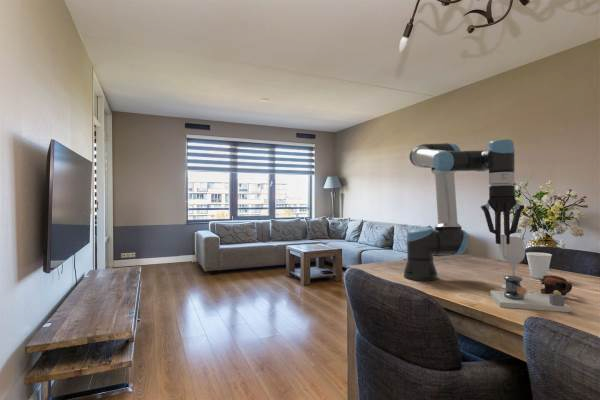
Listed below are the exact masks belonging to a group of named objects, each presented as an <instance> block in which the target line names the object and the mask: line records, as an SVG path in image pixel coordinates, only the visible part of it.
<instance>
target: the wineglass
mask: <svg viewBox="0 0 600 400" xmlns="http://www.w3.org/2000/svg"><path fill="white" fill-rule="evenodd" d="M506 252H507V254H501V256H502V258H503V259H504V260H505V262H507V263H508V264H510V267H511V276H516V274H515V273H516V271H515V270H516V266H517V264H519V263H521V262H523V260H524V259H525V255H526V248H525V242H524V239H523V237H522V236H521V237H520V236H510V243H509V244H506ZM521 286H522V287H523V288H525V289H526V290H527V288H526V287H525V286H523V285H521ZM501 288H502V289H505V290H506V283H504V284H502V285H501Z"/></svg>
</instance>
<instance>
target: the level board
mask: <svg viewBox="0 0 600 400" xmlns="http://www.w3.org/2000/svg"><path fill="white" fill-rule="evenodd" d="M504 292H506V290H505V291H504V290H490V292H489V294H490V296H491V297H492V298H493V300H494V301H495V302H496V303H497V305H498V306H499V307H500V308H501V307H502V308H511V309H512V308H513V309H524V310H525V309H526V310H534V311H535V310H537V311H539V310H540V311H549V312H550V311H551V312H561V313H562V312H563V313H571V306H569V305H568V304H566V303H565V295H564V296H563V295H561V293H560V292H559V291H558V290H555V291H553V294H541V293H538V292H537V293H536V292H526V295H524V299H511V298H507V297H505V296H504Z"/></svg>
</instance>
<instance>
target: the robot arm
mask: <svg viewBox="0 0 600 400" xmlns="http://www.w3.org/2000/svg"><path fill="white" fill-rule="evenodd" d="M409 160H410V163H411V165H413V166H415V167H416V168H424V169H425V168H430V169H431V173H432V174H433V175H434V177H435V178H434V179H435V193H436V196H435V197H436V198H435V199H436V211H437V224H436V225H435V227H434V229H433V228H432V227H417V228H412V229H409V230H408V231H407V234H406V235H407V236H406V243H407V245H406V247H407V248H406V250H407V261H406V264H405V267H404V270H403V278H405V279H408V280H413V281H422V282H425V281H426V282H428V281H435V280H438V274H439V273H438V272H437V271H438V270H437V269H436V265H435V262H434V256H456V255H457V256H458V255H462V254H463V253H465V251H466V250H467V247H468V242H469V239H468V234H467V232H466V231H465V230H463V228H462V225H460V224H459V223H458V209H457V196H456V181H455V180H456V179H455V173H456V172H486V171H488V184H489V187H488V189H489V190H488V192H489V194H488V197H489V198H488V200H487V202H486V203H485V204H484V205H481V206H480V209H481V210H482V211H483V213H484V216H485V217H484V218H485V221H486V224H487V227H488V231H489V233H492V234H495V244H496V245H498V253H499V254H500V255H502V254H507V252H506V244H509V243H510V237H511V235H513V234H515V233H517V230H518V227H519V226H518V225H519V222H520V218H521V214H522V211H524V209H525V205H523V204H520V203H519V202H518V201H517V199H516V194H515V193H516V190H515V189H516V186H515V185H514V184H515V182H516V181H515V145H514V141H513V140H512V139H506V138H504V139H495V140H491V141H489V143H488V147H487V149H485V150H461V149H460V147H459V146H458V145H457V144H456V143H449V142H445V143H443V142H442V143H423V144H419V145H416V146H415V147H413V148H412V149H411V150H410V153H409ZM490 208H491V209H492V210H493V211H494V224H493V220H492V217H491V214H490V213H491V212H490ZM512 209H514V210H515V211H514V213H513V216H512V221H511V220H510V219H511V218H510V215H511V211H512ZM502 214H503V233H504V234H502V227H501V226H502V224H501V223H502V221H501V220H502V217H501V216H502ZM510 221H511V223H510Z"/></svg>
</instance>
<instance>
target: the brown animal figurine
mask: <svg viewBox="0 0 600 400" xmlns="http://www.w3.org/2000/svg"><path fill="white" fill-rule="evenodd" d="M543 277H544V279H540V280H539V283H541V285H544V288H540V294H553V291H555V290H558V291H559V292H560V294H561V295H562V296H564V297H565V296H566V295H567V294H568V293H570V292H571V291H572V290H573V285H572V283H570V282H569V281H568V280H567V279H565V278H564V277H561V276H557V275H551V274H548V275H545V276H543Z"/></svg>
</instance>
